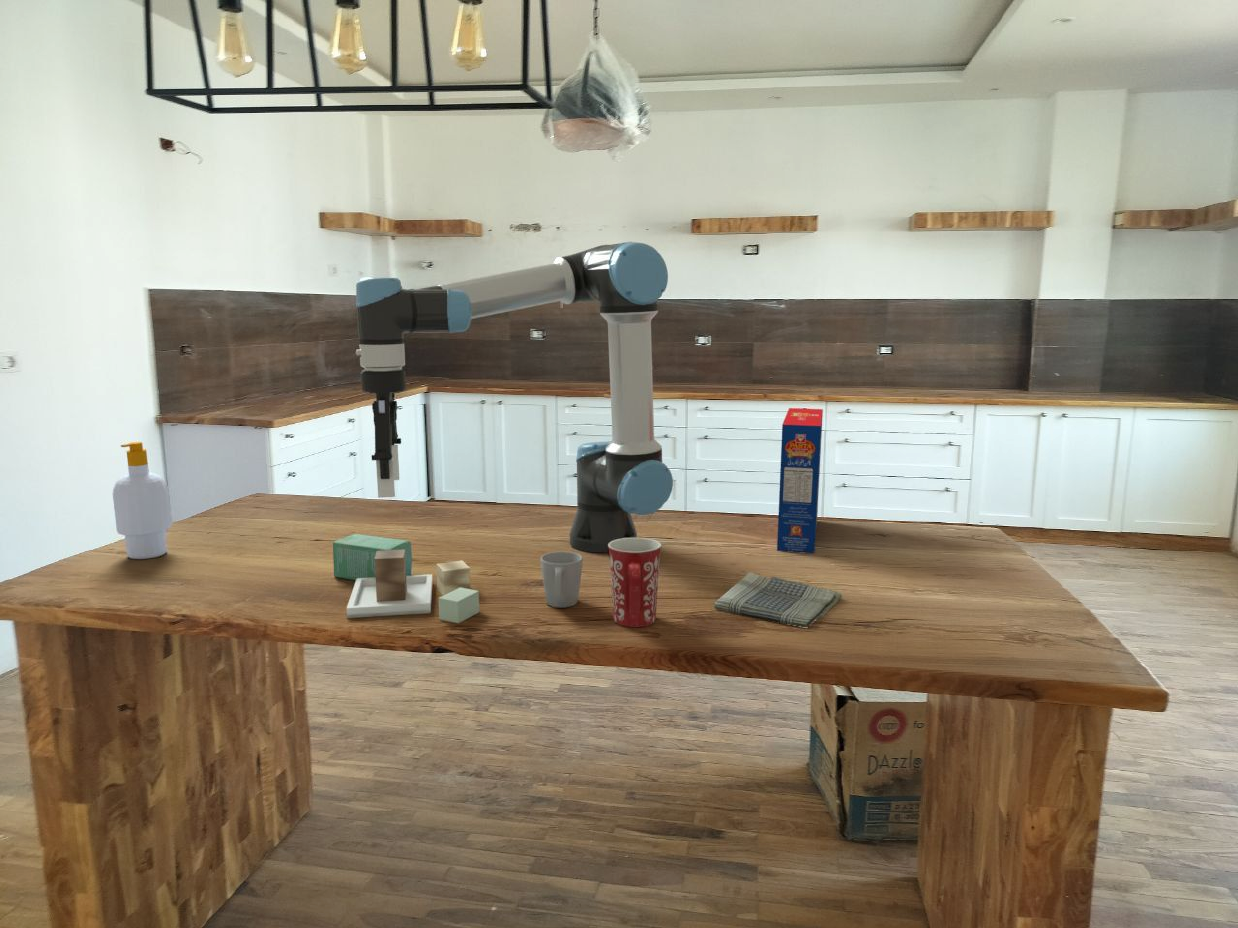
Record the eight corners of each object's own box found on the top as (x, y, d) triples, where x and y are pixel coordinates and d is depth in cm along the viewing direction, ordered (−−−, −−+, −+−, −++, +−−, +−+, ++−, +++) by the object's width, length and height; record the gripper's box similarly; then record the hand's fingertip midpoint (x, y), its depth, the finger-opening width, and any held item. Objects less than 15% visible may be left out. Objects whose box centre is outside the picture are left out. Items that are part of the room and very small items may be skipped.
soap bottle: (108, 558, 179) (95, 445, 174) (151, 545, 188) (139, 437, 183) (143, 564, 175) (131, 448, 170) (185, 550, 184) (174, 440, 180)
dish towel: (808, 633, 142) (809, 615, 142) (711, 611, 152) (712, 594, 151) (843, 600, 158) (844, 584, 157) (754, 583, 167) (754, 567, 167)
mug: (609, 609, 151) (609, 536, 149) (660, 610, 151) (661, 537, 148) (604, 637, 139) (604, 558, 136) (660, 638, 138) (661, 559, 136)
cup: (584, 595, 158) (584, 551, 156) (579, 615, 148) (579, 568, 147) (544, 594, 158) (543, 550, 157) (536, 614, 149) (535, 567, 147)
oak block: (463, 585, 164) (462, 560, 163) (470, 593, 159) (469, 567, 158) (437, 589, 162) (436, 563, 161) (444, 597, 157) (443, 571, 156)
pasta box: (784, 519, 213) (789, 408, 208) (817, 521, 211) (822, 409, 206) (776, 550, 187) (782, 424, 181) (814, 553, 185) (820, 426, 179)
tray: (432, 583, 165) (432, 574, 164) (430, 612, 149) (430, 603, 149) (357, 587, 162) (356, 578, 162) (347, 618, 147) (346, 608, 146)
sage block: (461, 608, 152) (460, 587, 151) (479, 612, 150) (478, 590, 149) (439, 619, 146) (438, 597, 146) (458, 624, 145) (457, 601, 144)
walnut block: (406, 590, 158) (405, 549, 157) (405, 600, 154) (403, 557, 152) (379, 592, 157) (376, 550, 156) (376, 601, 153) (374, 558, 151)
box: (392, 586, 163) (390, 548, 161) (333, 578, 167) (330, 541, 166) (413, 575, 170) (412, 538, 168) (356, 568, 174) (354, 532, 173)
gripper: (367, 363, 159) (373, 474, 163) (352, 375, 135) (360, 505, 139) (408, 362, 161) (413, 472, 165) (401, 374, 137) (407, 503, 141)
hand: (389, 488), depth 152 cm, fingers open, 13 cm apart
